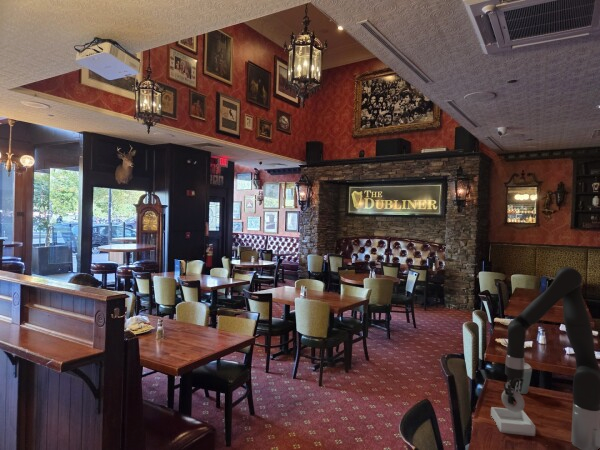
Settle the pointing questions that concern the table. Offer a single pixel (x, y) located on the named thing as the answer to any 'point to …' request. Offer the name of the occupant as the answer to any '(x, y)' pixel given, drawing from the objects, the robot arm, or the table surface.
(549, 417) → the table surface
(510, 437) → the table surface
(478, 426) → the table surface
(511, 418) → the walled tray
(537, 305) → the robot arm
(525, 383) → the disposable coffee cup
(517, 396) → the donut
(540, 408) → the table surface
